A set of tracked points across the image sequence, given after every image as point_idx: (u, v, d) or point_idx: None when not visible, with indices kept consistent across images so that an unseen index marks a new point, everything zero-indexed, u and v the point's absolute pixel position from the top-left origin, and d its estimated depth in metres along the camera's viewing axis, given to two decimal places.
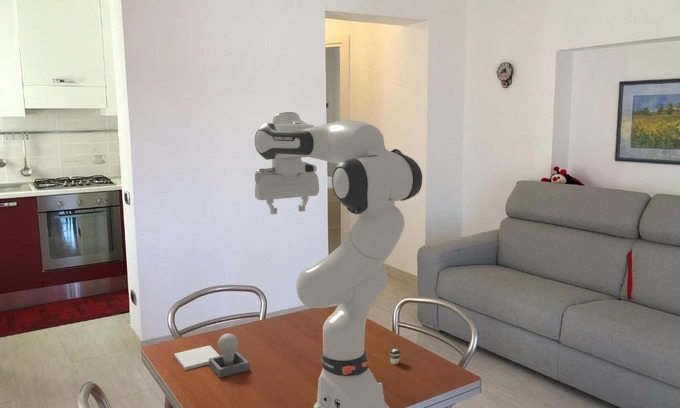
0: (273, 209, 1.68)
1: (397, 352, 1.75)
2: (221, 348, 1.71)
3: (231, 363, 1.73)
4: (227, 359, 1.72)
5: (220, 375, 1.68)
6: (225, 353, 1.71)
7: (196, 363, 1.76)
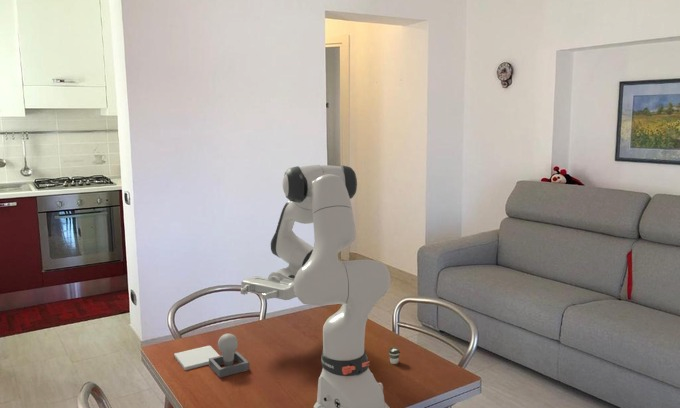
0: (244, 288, 1.85)
1: (397, 352, 1.75)
2: (221, 348, 1.71)
3: (231, 363, 1.73)
4: (227, 359, 1.72)
5: (220, 375, 1.68)
6: (225, 353, 1.71)
7: (196, 363, 1.76)
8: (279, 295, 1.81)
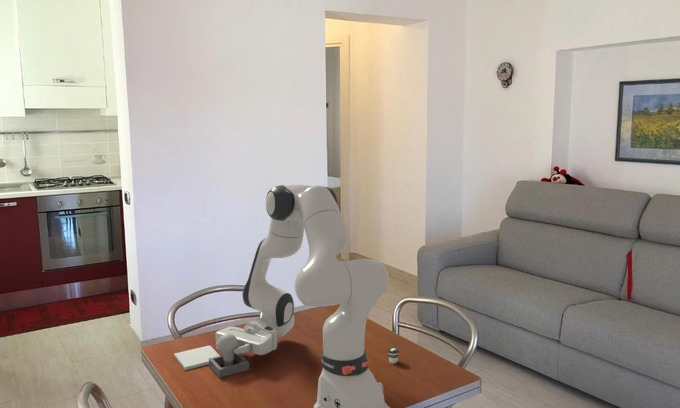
0: None
1: (396, 351, 1.75)
2: (221, 348, 1.71)
3: (231, 363, 1.73)
4: (227, 359, 1.72)
5: (220, 375, 1.68)
6: (225, 353, 1.71)
7: (196, 363, 1.76)
8: (253, 350, 1.73)
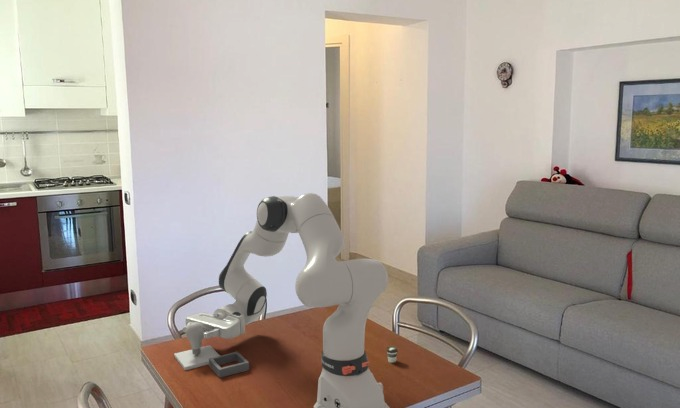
0: (186, 325, 1.83)
1: (394, 351, 1.76)
2: (188, 336, 1.78)
3: (198, 350, 1.81)
4: (194, 346, 1.80)
5: (220, 375, 1.68)
6: (192, 340, 1.78)
7: (196, 363, 1.76)
8: (221, 334, 1.79)
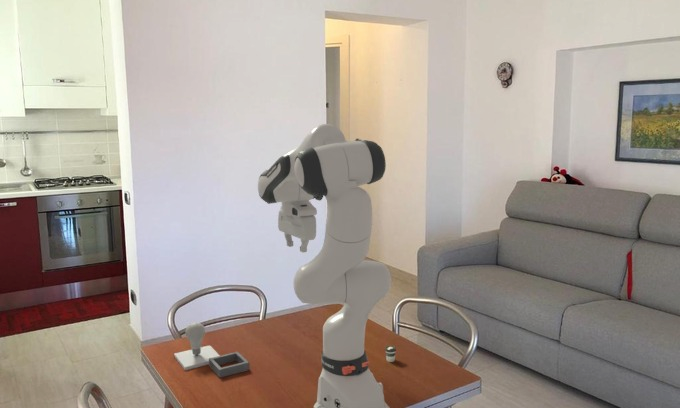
0: None
1: (393, 350, 1.76)
2: (188, 336, 1.78)
3: (198, 350, 1.81)
4: (194, 346, 1.80)
5: (220, 375, 1.68)
6: (192, 340, 1.79)
7: (196, 363, 1.76)
8: None
